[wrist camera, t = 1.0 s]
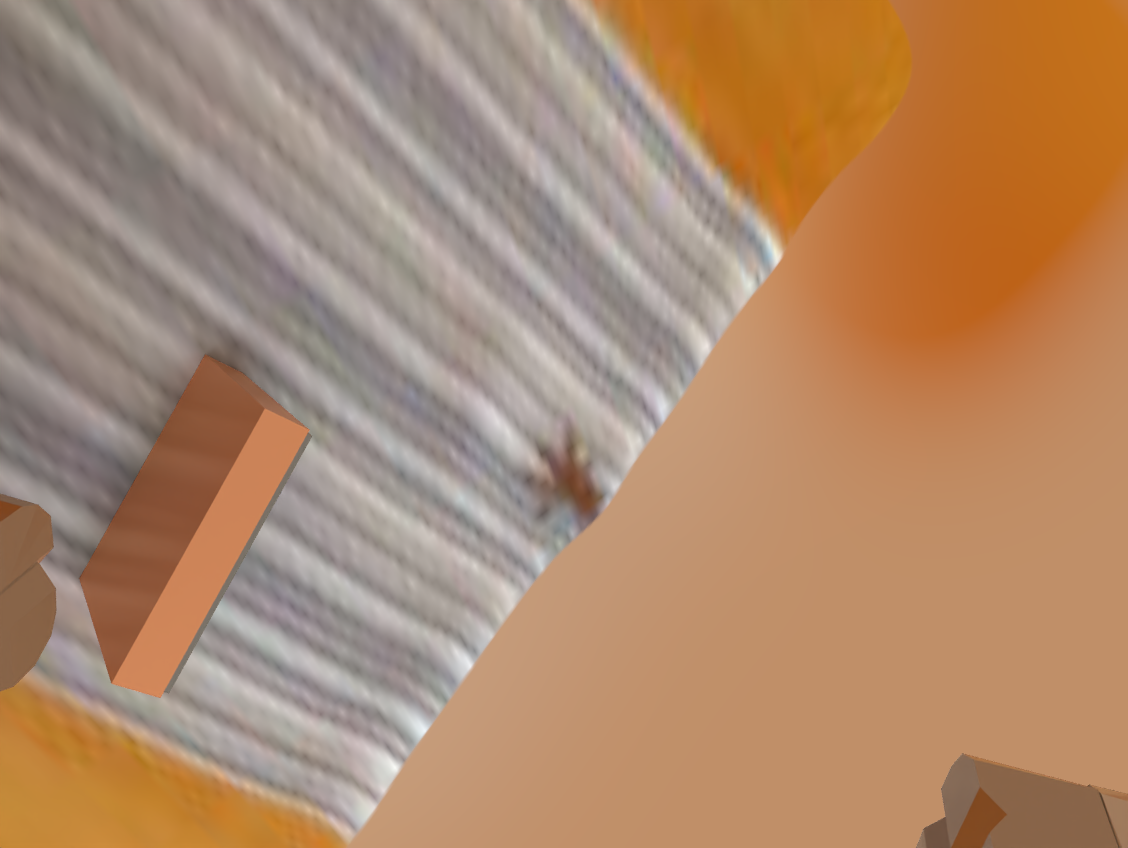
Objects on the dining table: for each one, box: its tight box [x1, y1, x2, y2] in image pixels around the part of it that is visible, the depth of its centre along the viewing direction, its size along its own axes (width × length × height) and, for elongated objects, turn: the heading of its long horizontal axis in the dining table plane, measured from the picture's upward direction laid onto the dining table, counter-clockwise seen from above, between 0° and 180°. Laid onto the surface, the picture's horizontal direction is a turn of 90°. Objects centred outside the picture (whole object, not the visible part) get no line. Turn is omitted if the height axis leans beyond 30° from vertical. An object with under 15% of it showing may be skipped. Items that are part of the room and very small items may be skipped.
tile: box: [79, 355, 312, 698], centre depth 46 cm, size 2×12×11 cm, turn 147°
